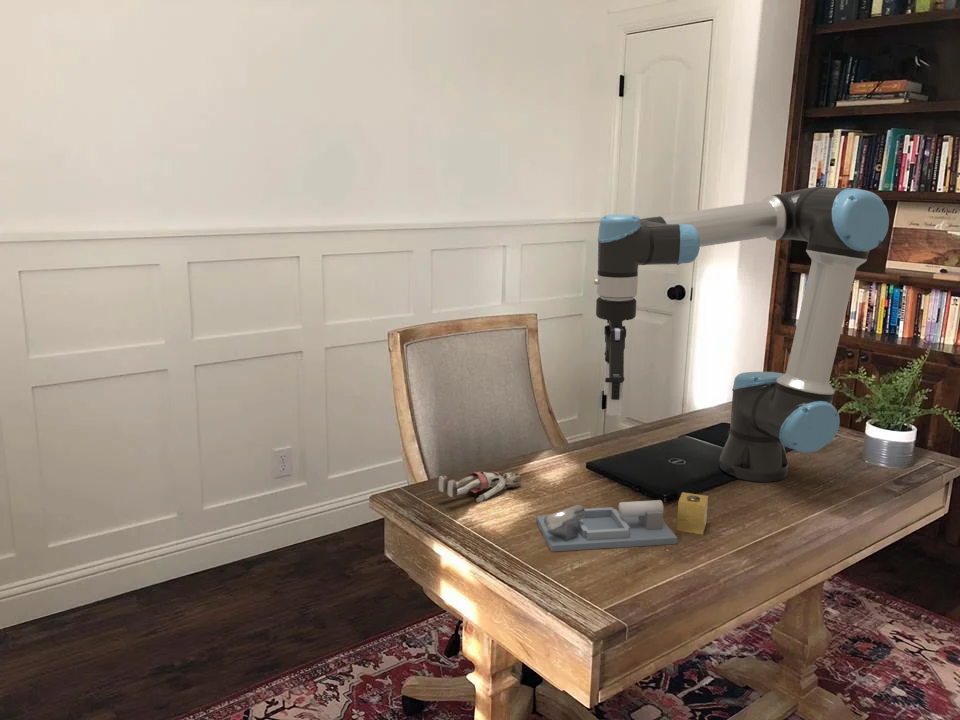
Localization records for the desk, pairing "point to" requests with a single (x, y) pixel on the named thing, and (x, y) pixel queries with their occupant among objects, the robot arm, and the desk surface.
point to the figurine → (480, 483)
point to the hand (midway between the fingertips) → (612, 404)
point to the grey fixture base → (616, 528)
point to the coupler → (692, 513)
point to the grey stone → (565, 522)
